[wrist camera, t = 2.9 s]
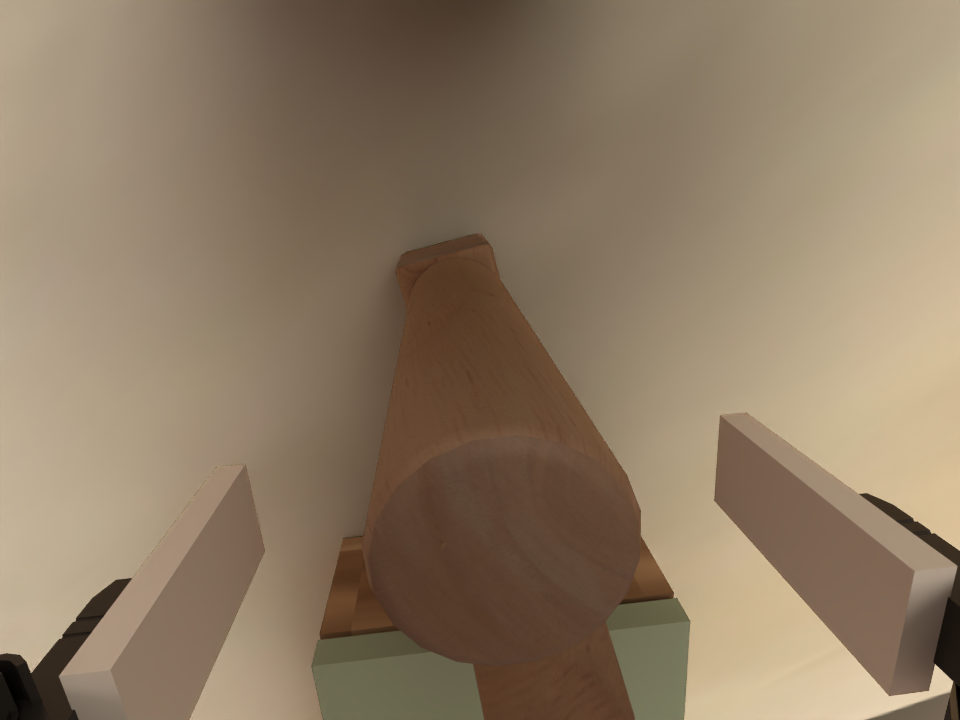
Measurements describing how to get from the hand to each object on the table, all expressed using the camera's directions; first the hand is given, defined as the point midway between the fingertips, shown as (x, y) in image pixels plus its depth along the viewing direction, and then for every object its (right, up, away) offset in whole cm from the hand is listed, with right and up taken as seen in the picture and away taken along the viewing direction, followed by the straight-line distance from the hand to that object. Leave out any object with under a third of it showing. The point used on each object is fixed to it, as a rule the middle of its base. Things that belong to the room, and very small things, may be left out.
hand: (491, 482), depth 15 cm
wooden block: (-1, +3, +10) cm, 10 cm away
